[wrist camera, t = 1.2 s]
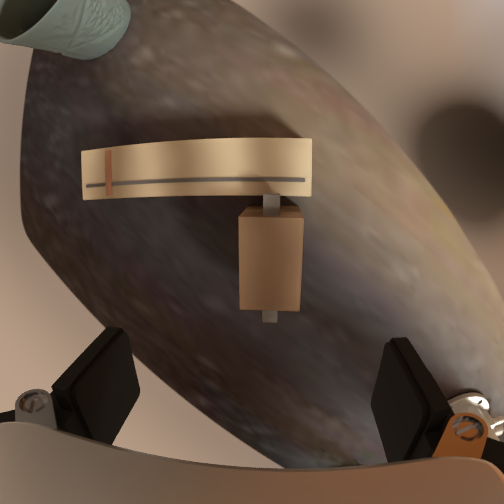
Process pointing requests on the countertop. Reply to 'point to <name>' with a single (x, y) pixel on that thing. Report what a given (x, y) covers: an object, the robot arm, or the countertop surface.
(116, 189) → the guide plank
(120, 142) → the countertop surface
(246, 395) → the countertop surface
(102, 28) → the green cup
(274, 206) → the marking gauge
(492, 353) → the countertop surface
